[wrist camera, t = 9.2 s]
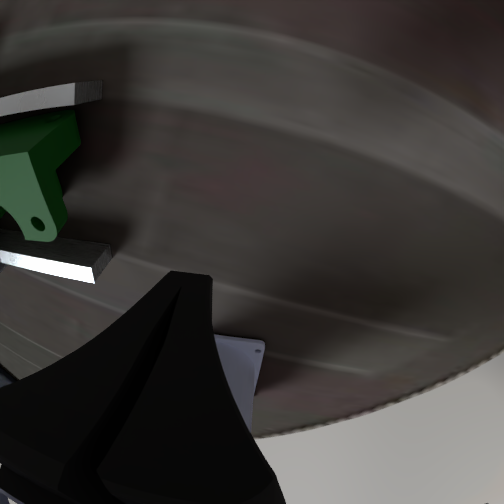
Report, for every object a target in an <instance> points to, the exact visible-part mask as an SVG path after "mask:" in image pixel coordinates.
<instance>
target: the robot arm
mask: <svg viewBox="0 0 504 504" xmlns="http://www.w3.org/2000/svg"><path fill="white" fill-rule="evenodd" d="M212 283H213V279H212V278H211V277H210V276H209V275H203V274H194V273H186V272H178V271H170V272H169V273H168V274H166V275H165V276H164V277H163V278H162V279H161V280H160V281H159V282H158V283H157V284H156V285H155V286H154V287H153V288H152V289H151V290H150V291H149V292H148V293H147V294H146V295H145V296H143V297H142V298H141V299H140V300H139V301H138V302H137V303H136V304H135V305H134V306H132V307H131V308H130V309H129V310H128V311H127V312H126V313H125V314H123V315H122V316H121V317H120V318H119V319H117V320H116V321H115V322H114V323H113V324H111V325H110V326H109V327H108V328H106V329H105V330H104V331H103V332H101V333H100V334H99V335H97V336H96V337H95V338H93V339H92V340H90V341H89V342H88V343H86V344H85V345H83V346H82V347H80V348H79V349H77V350H76V351H74V352H72V353H70V354H69V355H67V356H65V357H64V358H62V359H60V360H59V361H57V362H55V363H53V364H52V365H50V366H48V367H46V368H44V369H42V370H40V371H38V372H36V373H34V374H32V375H30V376H28V377H25V378H23V379H21V380H19V381H16V382H14V383H11V384H8V385H6V386H3V387H0V463H1V464H2V465H1V468H0V504H9V501H8V498H9V499H11V500H13V501H14V502H16V503H17V504H286V502H285V499H284V496H283V493H282V491H281V488H280V486H279V483H278V481H277V477H276V475H275V473H274V471H273V470H272V468H271V467H270V465H269V464H268V462H267V461H266V460H265V458H264V456H263V454H262V452H261V451H260V449H259V447H258V446H257V444H256V442H255V440H254V438H253V437H252V435H251V424H252V409H253V397H254V392H255V388H256V384H257V380H258V376H259V371H260V367H261V363H262V359H263V354H264V350H265V343H264V342H263V341H261V340H255V339H246V338H238V337H230V336H222V335H215V334H214V332H213V327H212ZM257 349H259V350H257ZM7 497H8V498H7ZM486 504H488V503H486Z"/></svg>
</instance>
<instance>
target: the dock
mask: <svg viewBox="0 0 504 504" xmlns="http://www.w3.org/2000/svg"><path fill="white" fill-rule="evenodd" d="M102 83H103V80H98V81H87V82H78V83H70V84H64V85H57V86H52V87H46V88H41V89H36V90H31V91H27V92H22V93H18V94H14V95H10V96H6V97H2V98H0V116H4V115H9V114H15V113H20V112H26V111H32V110H38V109H45V108H52V107H60V106H69V105H76V104H81V103H85V102H90V101H95V100H100V99H102ZM111 259H112V255H111V248H110V244H105V243H98V242H91V241H83V240H76V239H69V238H62V237H56V238H55V239H54V240H53V241H51V242H43V241H33V240H25V237H24V234H23V232H21V231H15V230H8V229H1V228H0V273H1V272H2V271H3V270H4V269H5V268H6V266H7V265H8V264H10V265H14V266H18V267H22V268H26V269H31V270H35V271H39V272H44V273H48V274H53V275H57V276H62V277H67V278H72V279H76V280H81V281H86V282H91V283H95V281H96V280H97V278H98V277H99V276H100V274H101V273H102V271H103V270H104V269H105V267H106V266H107V265H108V263H109V262H110V261H111Z"/></svg>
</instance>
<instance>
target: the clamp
mask: <svg viewBox="0 0 504 504" xmlns="http://www.w3.org/2000/svg"><path fill="white" fill-rule="evenodd" d="M80 144H81V139H80V135H79V130H78V126H77V121H76V116H75V111H74V110H63V111H57V112H52V113H47V114H42V115H37V116H32V117H28V118H24V119H19V120H15V121H11V122H8V123H4V124H0V219H1V217H2V216H3V215H4V214H5V212H6V211H8V212H9V213H10V214H11V215H12V217H13V218H14V219H15V220H16V222H17V223H18V225H19V226H20V228H21V230H22V232H23V234H24V237H25V240H33V241H43V242H51V241H53V240H54V239H55V238H56V237H57V235H58V233H59V232H60V230H61V229H62V227H63V226H64V224H65V223H66V221H67V218H68V213H67V210H66V207H65V204H64V201H63V199H62V197H63V193H62V188H61V185H60V182H59V179H58V176H57V173H56V169H57V168H58V167H59V166H60V165H61V164H62V163H63V162H64V161H65V160H66V159H67V158H68V157H69V156H70V155H71V154H72V153H73V152H74V151H75V150H76V149H77V148H78V147H79V145H80Z"/></svg>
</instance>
